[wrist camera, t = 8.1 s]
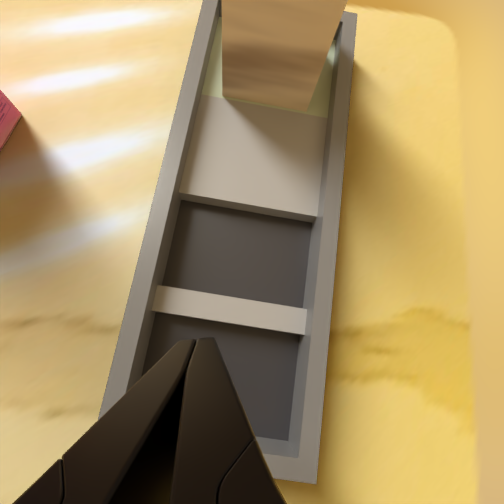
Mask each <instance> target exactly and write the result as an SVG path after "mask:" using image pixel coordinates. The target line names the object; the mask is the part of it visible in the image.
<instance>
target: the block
mask: <svg viewBox="0 0 504 504" xmlns="http://www.w3.org/2000/svg"><path fill="white" fill-rule="evenodd" d="M347 1H348V0H222V96H225V97H231V98H236V99H241V100H246V101H252V102H257V103H262V104H267V105H273V106H278V107H283V108H289V109H294V110H299V111H304V112H307V109H308V106H309V103H310V101H311V98H312V95H313V93H314V90H315V87H316V84H317V82H318V79H319V76H320V74H321V71H322V68H323V66H324V63H325V60H326V57H327V55H328V52H329V49H330V47H331V44H332V41H333V38H334V36H335V33H336V30H337V28H338V25H339V22H340V20H341V17H342V14H343V11H344V9H345V6H346V3H347Z"/></svg>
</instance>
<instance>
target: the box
mask: <svg viewBox="0 0 504 504" xmlns="http://www.w3.org/2000/svg"><path fill="white" fill-rule="evenodd" d="M21 116H22V114H21V113H20V112H19V110H18V109H17V108H16V107H15V106H14V105H13V104H12V103H11V101H10V100H9V99H8V98H7V97H6V96H5V95H4V93H3V92H2V91H1V90H0V152H1V150H2V148H3V147H4V145H5V143H6V142H7V140H8V138H9V137H10V135H11V133H12V132H13V130H14V128H15V126H16V124H17V123H18V121H19V119H20V117H21Z"/></svg>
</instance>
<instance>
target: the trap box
mask: <svg viewBox="0 0 504 504" xmlns="http://www.w3.org/2000/svg"><path fill="white" fill-rule="evenodd" d="M356 24H357V14H356V13H351V12H346V11H343V14H342V17H341V20H340V22H339V25H338V28H337V30H336V33H335V36H334V38H333V41H332V44H331V47H330V49H329V52H328V55H327V57H326V60H325V63H324V66H323V68H322V71H321V74H320V76H319V79H318V82H317V84H316V87H315V90H314V93H313V95H312V98H311V101H310V103H309V106H308V109H307V112H304V111H299V110H294V109H289V108H283V107H278V106H273V105H267V104H262V103H257V102H252V101H246V100H241V99H236V98H231V97H225V96H222V0H203V3H202V7H201V11H200V15H199V19H198V23H197V27H196V31H195V35H194V39H193V43H192V47H191V51H190V54H189V58H188V62H187V66H186V70H185V74H184V78H183V82H182V86H181V90H180V94H179V98H178V102H177V106H176V110H175V114H174V118H173V122H172V126H171V130H170V134H169V138H168V142H167V146H166V150H165V154H164V158H163V162H162V166H161V170H160V174H159V178H158V182H157V186H156V190H155V194H154V198H153V202H152V206H151V210H150V214H149V218H148V222H147V226H146V230H145V234H144V238H143V242H142V246H141V250H140V254H139V258H138V262H137V266H136V270H135V274H134V278H133V282H132V286H131V290H130V294H129V298H128V302H127V306H126V310H125V314H124V318H123V322H122V326H121V330H120V334H119V338H118V342H117V346H116V350H115V354H114V358H113V362H112V366H111V370H110V373H109V377H108V381H107V385H106V389H105V393H104V397H103V401H102V405H101V409H100V413H99V417H98V420H99V419H100V418H101V417H102V416H103V415H104V414H105V413H106V412H107V411H108V410H109V409H110V408H111V407H112V406H113V405H114V404H115V403H116V402H117V401H118V400H119V399H120V398H121V397H122V396H123V395H124V394H125V393H126V392H127V391H128V390H130V389H131V388H132V387H133V386H134V385H135V384H136V383H137V382H138V381H139V380H140V379H141V378H142V377H143V376H144V375H145V374H146V373H147V372H148V371H149V370H150V369H151V368H152V367H153V366H154V365H155V364H156V363H157V362H158V361H159V360H160V359H161V358H162V357H163V356H164V355H165V354H166V353H167V352H168V351H169V350H170V349H171V348H172V347H173V346H174V345H175V344H176V343H177V342H178V341H180V340H186V339H196V340H198V339H199V338H205V337H214V338H215V339H216V342H217V344H218V346H219V349H220V351H221V354H222V356H223V359H224V361H225V364H226V366H227V368H228V371H229V373H230V376H231V378H232V381H233V383H234V386H235V388H236V390H237V393H238V395H239V398H240V400H241V403H242V405H243V408H244V410H245V412H246V415H247V417H248V420H249V422H250V425H251V427H252V430H253V432H254V434H255V437H256V440H257V441H258V444H259V446H260V449H261V451H262V454H263V456H264V458H265V461H266V463H267V465H268V467H269V469H270V472H271V474H272V476H273V478H275V479H282V480H289V481H296V482H304V483H311V484H316V482H317V471H318V459H319V448H320V436H321V425H322V413H323V402H324V391H325V379H326V368H327V356H328V345H329V333H330V322H331V310H332V299H333V288H334V276H335V265H336V253H337V242H338V230H339V219H340V208H341V196H342V185H343V173H344V162H345V150H346V139H347V127H348V116H349V105H350V93H351V82H352V70H353V59H354V47H355V36H356Z"/></svg>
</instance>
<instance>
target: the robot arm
mask: <svg viewBox="0 0 504 504" xmlns="http://www.w3.org/2000/svg"><path fill="white" fill-rule="evenodd" d="M12 504H287V503H286V501H285V500H284V498H283V496H282V494H281V492H280V490H279V488H278V487H277V485H276V483H275V480H274V478H273V476H272V474H271V472H270V469H269V467H268V465H267V463H266V461H265V458H264V456H263V454H262V451H261V449H260V446H259V444H258V441H257V440H256V437H255V434H254V432H253V430H252V427H251V425H250V422H249V420H248V417H247V415H246V412H245V410H244V408H243V405H242V403H241V400H240V398H239V395H238V393H237V390H236V388H235V386H234V383H233V381H232V378H231V376H230V373H229V371H228V368H227V366H226V364H225V361H224V359H223V356H222V354H221V351H220V349H219V346H218V344H217V342H216V339H215V338H214V337H205V338H199V339H198V340H196V339H186V340H180V341H178V342H177V343H176V344H175V345H174V346H173V347H172V348H171V349H170V350H169V351H168V352H167V353H166V354H165V355H164V356H163V357H162V358H161V359H160V360H159V361H158V362H157V363H156V364H155V365H154V366H153V367H152V368H151V369H150V370H149V371H148V372H147V373H146V374H145V375H144V376H143V377H142V378H141V379H140V380H139V381H138V382H137V383H136V384H135V385H134V386H133V387H132V388H131V389H130V390H128V391H127V392H126V393H125V394H124V395H123V396H122V397H121V398H120V399H119V400H118V401H117V402H116V403H115V404H114V405H113V406H112V407H111V408H110V409H109V410H108V411H107V412H106V413H105V414H104V415H103V416H102V417H101V418H100V419H99V420H98V421H97V422H96V423H95V424H94V425H93V426H92V427H91V428H90V429H89V430H88V431H87V432H86V433H85V434H84V435H83V436H82V437H81V438H80V439H79V440H78V441H77V442H76V443H75V444H74V445H73V446H72V447H71V448H70V449H69V450H67V451H66V452H65V453H64V454H63V456H62V459H58V460H57V461H56V462H55V463H54V464H53V465H52V466H51V467H50V468H49V469H48V470H47V471H46V472H45V473H44V474H43V475H42V476H41V477H40V478H39V479H38V480H37V481H36V482H35V483H34V484H32V485H31V486H30V487H29V488H28V489H27V490H26V491H25V492H24V493H23V494H22V495H21V496H20V497H19V498H18V499H17V500H16V501H15V502H14V503H12Z"/></svg>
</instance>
